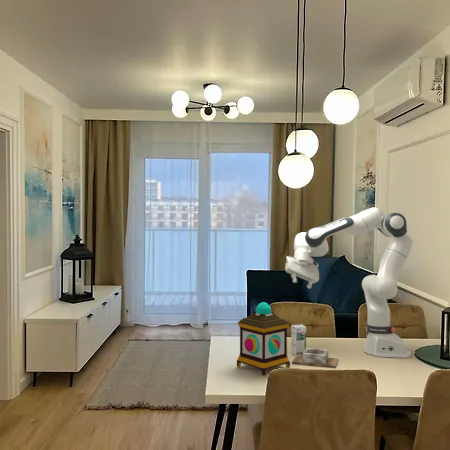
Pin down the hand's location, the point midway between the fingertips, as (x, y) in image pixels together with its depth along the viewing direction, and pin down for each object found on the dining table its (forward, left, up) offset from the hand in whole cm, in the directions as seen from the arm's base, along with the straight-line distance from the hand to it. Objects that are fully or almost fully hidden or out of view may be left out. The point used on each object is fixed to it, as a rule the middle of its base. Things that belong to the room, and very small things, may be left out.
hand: (302, 285), depth 243 cm
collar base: (-9, +14, -34) cm, 38 cm away
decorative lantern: (+12, +32, -35) cm, 49 cm away
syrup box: (+1, +3, -35) cm, 35 cm away
